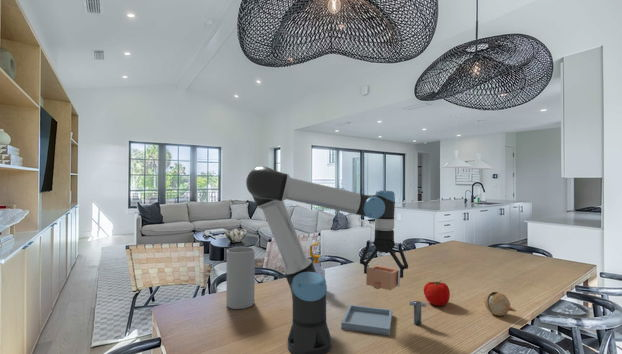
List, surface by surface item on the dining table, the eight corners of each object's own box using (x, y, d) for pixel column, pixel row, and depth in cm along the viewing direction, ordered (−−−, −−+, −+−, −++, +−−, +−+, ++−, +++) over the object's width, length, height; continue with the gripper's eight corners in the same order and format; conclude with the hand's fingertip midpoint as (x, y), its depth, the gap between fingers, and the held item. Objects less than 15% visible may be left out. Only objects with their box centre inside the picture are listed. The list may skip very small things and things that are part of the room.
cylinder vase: (226, 311, 135) (226, 253, 136) (226, 300, 147) (226, 247, 148) (255, 308, 138) (255, 251, 139) (253, 298, 151) (253, 246, 151)
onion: (489, 288, 140) (518, 290, 126) (496, 309, 138) (527, 314, 124) (473, 293, 137) (501, 297, 123) (480, 316, 135) (510, 321, 121)
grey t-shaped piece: (425, 326, 121) (425, 304, 121) (409, 324, 123) (409, 302, 123) (425, 323, 123) (425, 301, 124) (409, 321, 125) (409, 300, 125)
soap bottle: (323, 293, 156) (323, 244, 156) (305, 292, 158) (305, 244, 158) (326, 287, 165) (326, 241, 165) (309, 286, 167) (309, 240, 167)
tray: (389, 335, 114) (389, 328, 114) (341, 328, 119) (341, 322, 119) (392, 315, 131) (392, 309, 131) (349, 310, 136) (349, 304, 136)
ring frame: (400, 283, 125) (400, 268, 126) (388, 291, 116) (389, 275, 116) (376, 278, 131) (377, 264, 131) (364, 285, 122) (364, 270, 122)
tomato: (451, 301, 146) (451, 279, 146) (448, 311, 135) (447, 287, 135) (426, 297, 152) (426, 275, 152) (421, 306, 141) (420, 283, 141)
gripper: (415, 230, 125) (414, 284, 124) (356, 225, 132) (355, 277, 131) (415, 232, 117) (414, 290, 117) (353, 228, 125) (351, 282, 124)
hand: (383, 283), depth 124 cm, fingers closed on ring frame, 11 cm apart
